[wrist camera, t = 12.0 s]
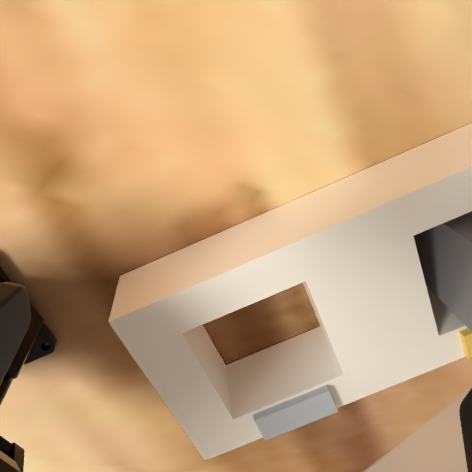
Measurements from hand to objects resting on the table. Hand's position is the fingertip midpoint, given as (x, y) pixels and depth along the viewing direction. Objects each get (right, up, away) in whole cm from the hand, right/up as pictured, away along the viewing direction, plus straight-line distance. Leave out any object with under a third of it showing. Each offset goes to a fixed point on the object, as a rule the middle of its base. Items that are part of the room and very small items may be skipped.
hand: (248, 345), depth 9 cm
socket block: (+6, 0, +15) cm, 16 cm away
